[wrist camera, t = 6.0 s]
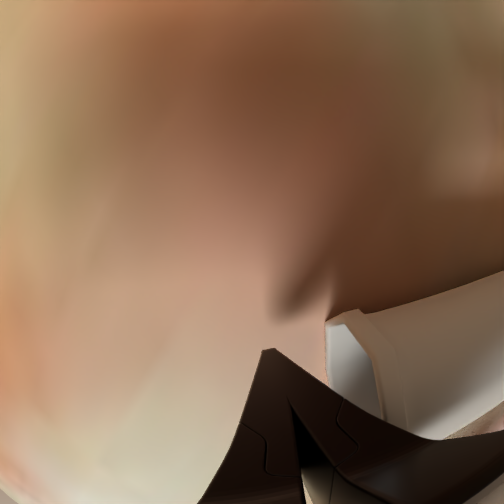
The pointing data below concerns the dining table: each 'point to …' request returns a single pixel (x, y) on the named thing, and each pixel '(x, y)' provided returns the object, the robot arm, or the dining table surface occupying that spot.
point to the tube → (423, 358)
